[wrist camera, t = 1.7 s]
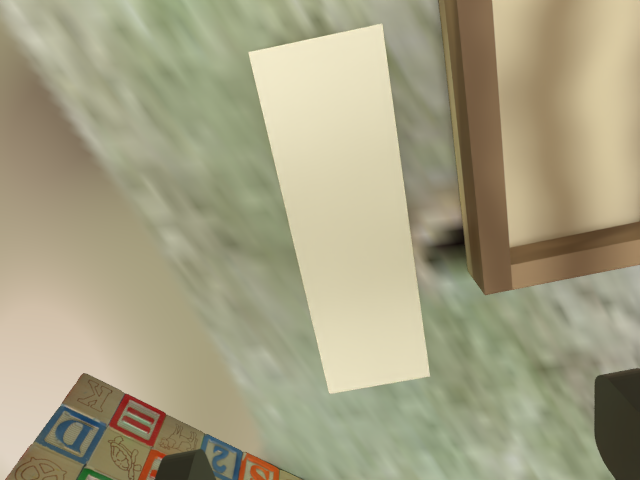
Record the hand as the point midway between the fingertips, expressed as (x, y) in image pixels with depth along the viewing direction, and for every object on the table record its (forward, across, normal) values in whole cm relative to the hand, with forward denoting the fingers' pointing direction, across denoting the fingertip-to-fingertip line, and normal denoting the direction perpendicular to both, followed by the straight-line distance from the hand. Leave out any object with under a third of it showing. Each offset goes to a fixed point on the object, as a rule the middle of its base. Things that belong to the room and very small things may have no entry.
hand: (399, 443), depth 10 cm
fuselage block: (+19, 0, 0) cm, 19 cm away
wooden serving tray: (+18, -12, -5) cm, 22 cm away
